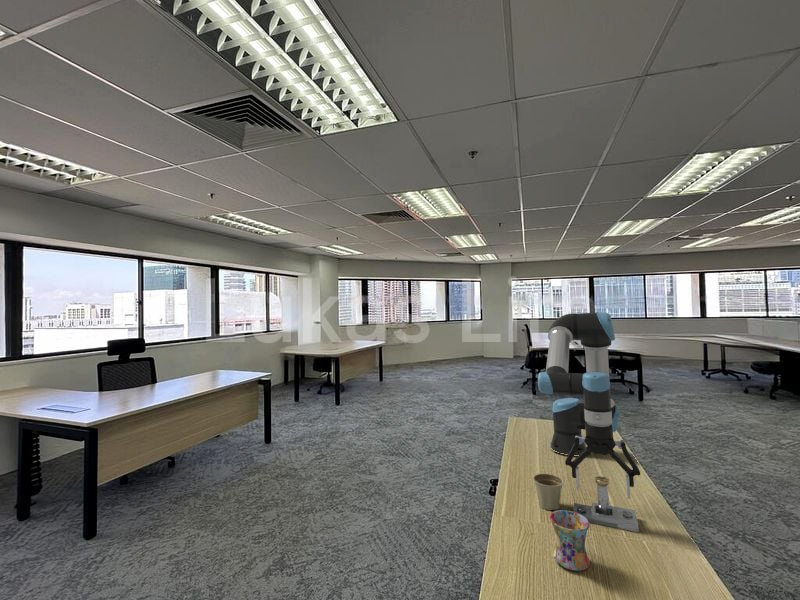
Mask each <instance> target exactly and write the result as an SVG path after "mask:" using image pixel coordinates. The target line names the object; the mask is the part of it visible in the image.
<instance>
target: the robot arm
mask: <svg viewBox="0 0 800 600" xmlns="http://www.w3.org/2000/svg"><path fill="white" fill-rule="evenodd" d="M547 337H548V341H549V343H548V344H549V345H548V352H547V359H546V367H545V371H544V372H543V371H541V372H539V373H538V374H537V388H538V391H539V393H541V394H548V395H559V396H577V397H583V402H581V401H580V399H578V398H574V397H567V398H566V397H565V398H558V399H556V400H554V401H553V403H552V418H553V420H552V421H553V422H552V423H553V435H552V439H551V442H550V449H551V448H552V449H553V450H555V451H557V452H559V453H564V454H568V456H566V458H565V462H564V464H565V465H566V466H569V467H570V468H571V477H572V479H575V480H576V483H575V484H576V491H580V490H581V489H580V469H579V465H580V464H581V463H582V462H583V461H584V460H585V459H586V458H587V457H588V456H589V455H591V453H593V454H594V455H602V456H607V455H609V456H610V457H611V458H613V459H614V461H615V462H616V463H617V464H618V466H619V467H621V468H622V469H623V470H624V471H625V472H624V473H625V487H626V488H625V489H626V491H625V492H626V498H627V499H628V500H631V488H634V487H635V480H634V477H636V476H639V477H640V476H641V471H640V469H639V467H638V465H637V463H636V461H635V460H634V458H633V457H632V456H631V453H630V452H629V450H628V449H627V445H626V442H625V440H624V439H621V440H619V441H617V440H615V439H614V433H616V432H617V431H618V428H619V422H620V409H619V408H620V407H619V405H617V404H616V403H615V401H614V399H612V398H611V397H612V396H611V382H610V381H611V380H610V370H609V369H610V367H609V365H610V364H609V351H608V349H609V347H611V346H612V342H613V341H615V340H616V336H615V331H614V325H613V320H612V317H611V315H610V313H608V312H598V311H597V312H578V313H577V312H576V313H575V312H574V313H573V312H571V313H570V312H569V313H567V314H564V315H561V316H560V317H558V318H557V319H555V321H554V322H552V324H551V325H550V327H549V328H548V333H547ZM572 341H580V345H581V346H583V348H584V353H585V368H586V372H584V373H576V372H575V373H573V372H569V365H570V364H569V362H570V346H571V345H570V344H571V342H572ZM582 430H585V437H583V434H582ZM616 446H617V447H618V450H621V452H622V453H623V455H624V456H625V459H627V461H628V463H629V464H630V466H629V465H627V463H626V462H625V461H624V460H623V459H622V458H621V457H620V456H619V454H617V453H616V451H615V449H614V448H615V447H616ZM574 455H579V456H577V457H576V458H575V459H573V458H574V457H573V456H574ZM572 460H573V461H572ZM630 467H631V468H630Z"/></svg>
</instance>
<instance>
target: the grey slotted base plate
mask: <svg viewBox="0 0 800 600" xmlns="http://www.w3.org/2000/svg"><path fill="white" fill-rule="evenodd" d="M609 511H610V516H609V515H604V514H599V512H598V502H597V503H596V502H591V505H587V504H582V503H575V502H574V503H573V511H572V512H576V513H578V514H580V515H582V516H584V517H585V518H586V519H587V520H588V521H589V524H590V523H591V524H594V525H595V524H596V525H598V526H599V525H600V526H604V527H609V528H613V529H614V528H615V529H620V530H623V531H624V530H626V531H630V532H633V533H634V532H635V533H640V531H639V522H638V517H637V513H636V509H629V508H625V507H618V506H613V505H609Z"/></svg>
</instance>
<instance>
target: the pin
mask: <svg viewBox="0 0 800 600" xmlns="http://www.w3.org/2000/svg"><path fill="white" fill-rule="evenodd" d="M594 483H595V484H596V492H597V495H596V496H597V504H598V512H599V514H604V515H609V516H610V511H609V506H610V500H609V499H610V498H609V497H610V496H609V485H610V480H609V478H608V477H606V476H605V477H604V476H595V477H594Z"/></svg>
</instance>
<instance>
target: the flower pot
mask: <svg viewBox="0 0 800 600" xmlns="http://www.w3.org/2000/svg"><path fill="white" fill-rule="evenodd" d="M532 480H533V482H534V485H535V489H536V493H537V494H536V495H537V499H538V505H539V506H540V507H541V508H542V509H544V510H547V511H553V510H554V511H558V510H559V509H560V503H561V491H562V487H563V485H564V480H563V478H561V477H559V476H557V475H554V474H551V473H543V472H542V473H537V474H535V475H533V476H532Z"/></svg>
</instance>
